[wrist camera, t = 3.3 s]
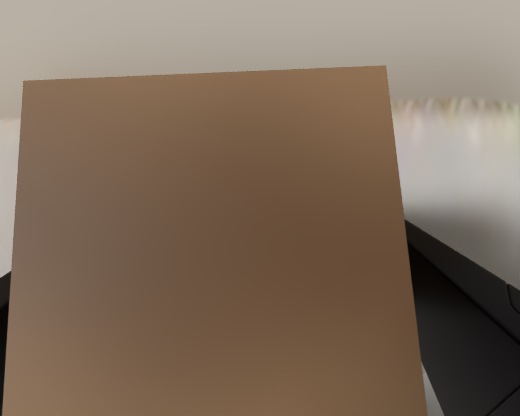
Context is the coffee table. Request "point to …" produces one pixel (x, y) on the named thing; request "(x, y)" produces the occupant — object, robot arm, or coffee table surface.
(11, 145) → the coffee table surface
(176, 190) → the walnut block
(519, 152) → the coffee table surface
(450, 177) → the coffee table surface
